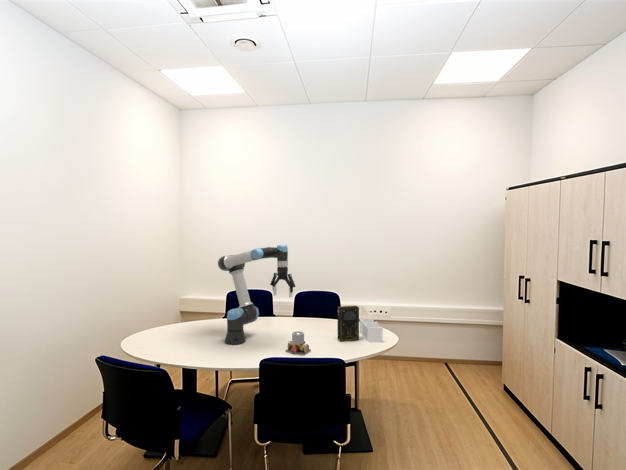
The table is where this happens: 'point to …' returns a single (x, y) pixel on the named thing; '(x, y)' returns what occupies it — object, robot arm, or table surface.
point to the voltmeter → (348, 323)
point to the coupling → (298, 337)
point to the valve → (298, 348)
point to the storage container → (371, 330)
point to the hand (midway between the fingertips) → (282, 296)
